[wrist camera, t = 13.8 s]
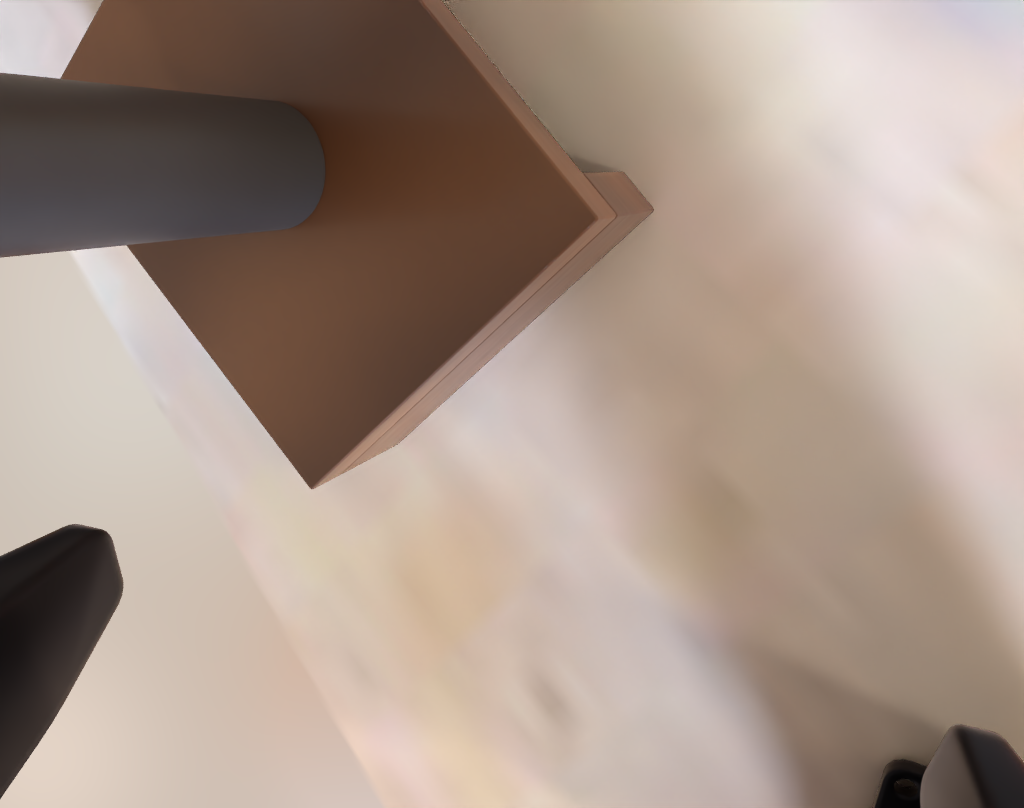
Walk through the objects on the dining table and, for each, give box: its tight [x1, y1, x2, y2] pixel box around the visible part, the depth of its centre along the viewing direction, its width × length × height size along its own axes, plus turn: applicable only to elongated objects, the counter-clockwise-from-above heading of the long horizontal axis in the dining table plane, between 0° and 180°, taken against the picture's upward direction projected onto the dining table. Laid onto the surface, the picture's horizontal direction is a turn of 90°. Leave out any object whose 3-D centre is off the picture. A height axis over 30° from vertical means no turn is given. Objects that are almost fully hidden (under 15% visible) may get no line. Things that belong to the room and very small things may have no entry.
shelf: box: [61, 0, 653, 489], centre depth 21 cm, size 12×10×4 cm
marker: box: [0, 73, 325, 257], centre depth 14 cm, size 3×3×13 cm
